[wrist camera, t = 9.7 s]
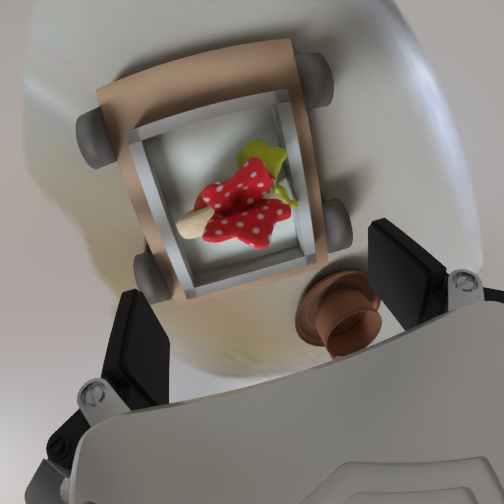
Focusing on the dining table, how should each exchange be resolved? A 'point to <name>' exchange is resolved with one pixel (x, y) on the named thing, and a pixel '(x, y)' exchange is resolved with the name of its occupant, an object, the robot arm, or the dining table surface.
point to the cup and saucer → (340, 314)
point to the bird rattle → (242, 201)
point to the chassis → (216, 163)
